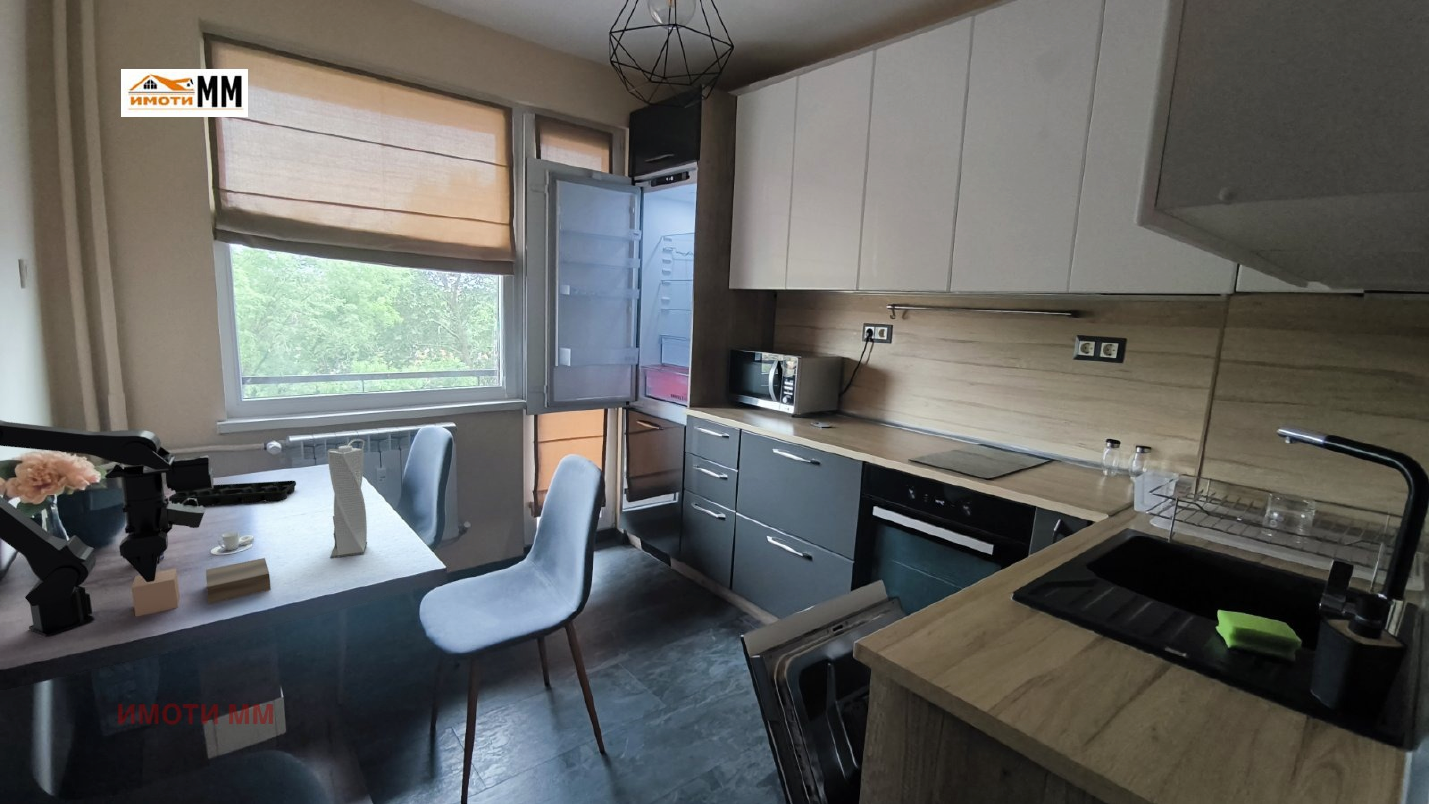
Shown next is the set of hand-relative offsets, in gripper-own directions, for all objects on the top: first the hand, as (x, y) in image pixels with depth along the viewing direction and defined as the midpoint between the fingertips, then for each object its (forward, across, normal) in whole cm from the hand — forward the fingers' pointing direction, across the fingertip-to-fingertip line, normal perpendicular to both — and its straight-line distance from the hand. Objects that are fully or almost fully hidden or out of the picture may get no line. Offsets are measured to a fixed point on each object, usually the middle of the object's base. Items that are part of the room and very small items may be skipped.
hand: (153, 572), depth 115 cm
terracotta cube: (+7, 0, 0) cm, 7 cm away
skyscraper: (+7, +8, -35) cm, 36 cm away
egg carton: (+8, +72, -13) cm, 74 cm away
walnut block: (+7, 0, -13) cm, 15 cm away
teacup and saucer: (+8, +25, -14) cm, 30 cm away
